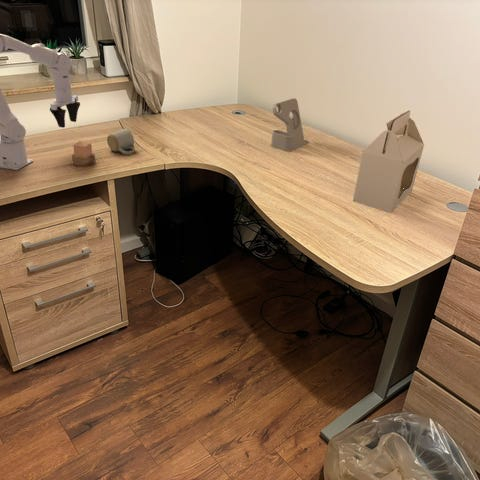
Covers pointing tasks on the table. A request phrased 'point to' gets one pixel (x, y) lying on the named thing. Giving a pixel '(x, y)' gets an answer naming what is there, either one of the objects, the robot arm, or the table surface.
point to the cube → (82, 149)
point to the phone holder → (288, 127)
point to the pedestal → (83, 161)
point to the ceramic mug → (121, 141)
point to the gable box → (390, 165)
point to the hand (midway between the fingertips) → (67, 124)
